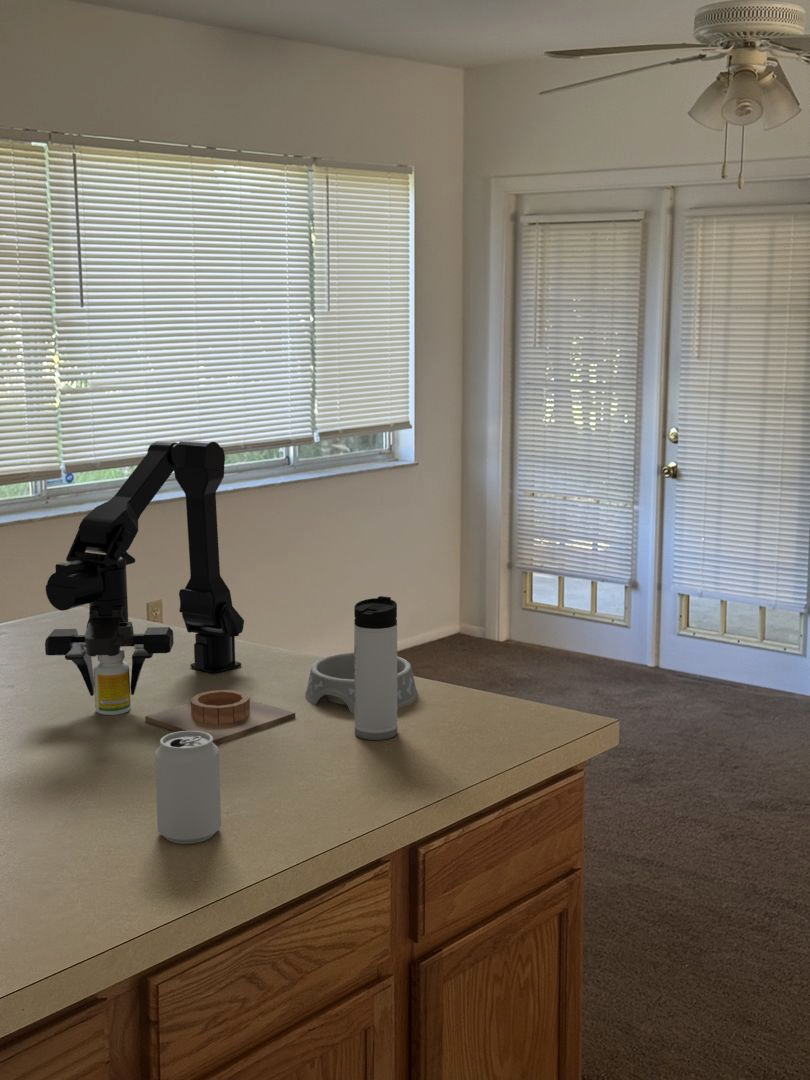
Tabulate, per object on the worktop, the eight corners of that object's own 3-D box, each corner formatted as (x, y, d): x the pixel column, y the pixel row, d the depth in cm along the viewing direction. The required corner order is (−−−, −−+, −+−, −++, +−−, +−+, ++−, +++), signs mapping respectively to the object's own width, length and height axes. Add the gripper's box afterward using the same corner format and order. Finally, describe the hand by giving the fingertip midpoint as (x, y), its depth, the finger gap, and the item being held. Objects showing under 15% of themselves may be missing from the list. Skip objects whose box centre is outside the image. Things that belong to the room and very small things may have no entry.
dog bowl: (382, 721, 191) (382, 687, 190) (284, 702, 200) (283, 669, 199) (436, 691, 206) (436, 659, 205) (342, 675, 215) (341, 644, 214)
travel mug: (405, 729, 186) (405, 598, 183) (385, 743, 181) (385, 608, 177) (367, 723, 189) (366, 594, 185) (347, 736, 183) (346, 603, 179)
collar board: (225, 696, 202) (225, 676, 201) (295, 717, 192) (295, 697, 191) (145, 721, 190) (144, 700, 189) (215, 745, 180) (214, 723, 179)
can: (161, 821, 153) (157, 727, 151) (223, 819, 154) (220, 726, 152) (154, 847, 146) (150, 749, 144) (219, 845, 146) (216, 747, 144)
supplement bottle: (89, 709, 196) (86, 650, 194) (121, 702, 199) (118, 644, 197) (105, 718, 191) (102, 657, 190) (137, 711, 195) (134, 651, 193)
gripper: (34, 610, 183) (40, 712, 186) (163, 608, 185) (167, 709, 187) (50, 593, 194) (55, 689, 197) (172, 591, 195) (175, 687, 198)
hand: (112, 694), depth 195 cm, fingers open, 6 cm apart
